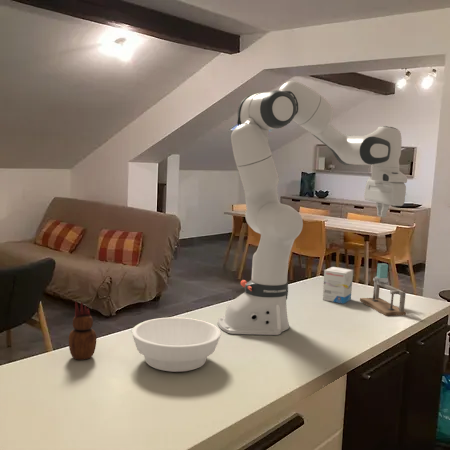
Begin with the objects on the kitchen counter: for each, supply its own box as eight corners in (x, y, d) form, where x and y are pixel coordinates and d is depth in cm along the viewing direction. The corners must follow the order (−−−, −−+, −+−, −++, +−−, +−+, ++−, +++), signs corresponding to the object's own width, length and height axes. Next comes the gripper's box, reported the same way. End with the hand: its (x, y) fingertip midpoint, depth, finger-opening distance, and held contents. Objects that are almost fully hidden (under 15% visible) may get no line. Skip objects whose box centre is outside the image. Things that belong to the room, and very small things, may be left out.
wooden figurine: (68, 362, 134) (68, 304, 132) (68, 354, 140) (69, 297, 137) (96, 361, 136) (97, 303, 134) (95, 352, 141) (96, 296, 139)
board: (385, 315, 186) (387, 293, 185) (359, 301, 204) (361, 280, 203) (405, 315, 188) (407, 292, 187) (378, 300, 206) (380, 280, 205)
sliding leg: (374, 300, 200) (377, 264, 198) (370, 298, 203) (373, 263, 201) (386, 299, 201) (389, 264, 199) (382, 297, 204) (385, 263, 202)
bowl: (123, 350, 144) (124, 320, 143) (203, 343, 152) (204, 314, 151) (141, 385, 123) (142, 350, 122) (232, 375, 131) (234, 342, 130)
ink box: (351, 299, 206) (354, 269, 204) (343, 304, 199) (346, 273, 197) (330, 295, 210) (332, 265, 209) (321, 299, 203) (324, 269, 202)
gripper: (361, 173, 191) (358, 212, 193) (393, 177, 172) (389, 220, 173) (377, 174, 193) (374, 212, 195) (410, 177, 173) (406, 220, 175)
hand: (381, 216), depth 184 cm, fingers closed
